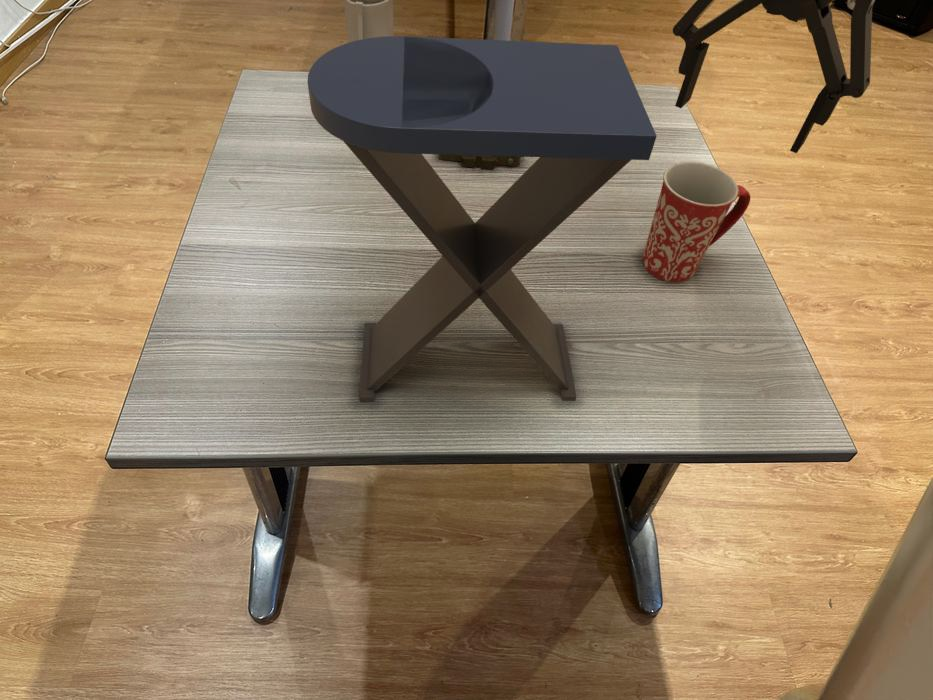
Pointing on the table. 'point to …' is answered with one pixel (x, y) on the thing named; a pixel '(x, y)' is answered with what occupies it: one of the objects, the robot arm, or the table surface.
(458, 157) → the landmine
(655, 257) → the mug
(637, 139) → the x-leg side table
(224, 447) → the table surface
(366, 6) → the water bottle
